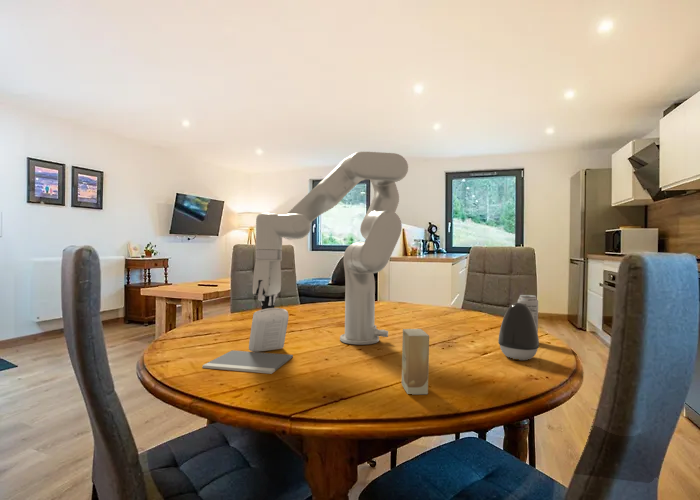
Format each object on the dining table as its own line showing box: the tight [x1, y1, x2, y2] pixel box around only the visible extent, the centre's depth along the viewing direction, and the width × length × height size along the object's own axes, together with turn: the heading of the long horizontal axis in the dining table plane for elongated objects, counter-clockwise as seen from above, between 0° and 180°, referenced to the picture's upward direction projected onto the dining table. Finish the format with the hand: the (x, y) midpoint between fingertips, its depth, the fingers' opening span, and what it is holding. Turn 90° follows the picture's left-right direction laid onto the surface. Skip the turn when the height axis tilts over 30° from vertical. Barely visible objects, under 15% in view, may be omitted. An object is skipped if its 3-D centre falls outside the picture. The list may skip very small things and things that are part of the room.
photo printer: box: [248, 307, 289, 353], centre depth 107 cm, size 10×4×12 cm, turn 123°
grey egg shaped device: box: [497, 302, 540, 361], centre depth 104 cm, size 10×10×15 cm
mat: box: [202, 350, 294, 375], centre depth 97 cm, size 18×14×1 cm
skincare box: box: [401, 328, 430, 395], centre depth 80 cm, size 6×4×12 cm
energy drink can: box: [517, 294, 539, 334], centre depth 122 cm, size 6×6×15 cm
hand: (267, 318), depth 110 cm, fingers closed
